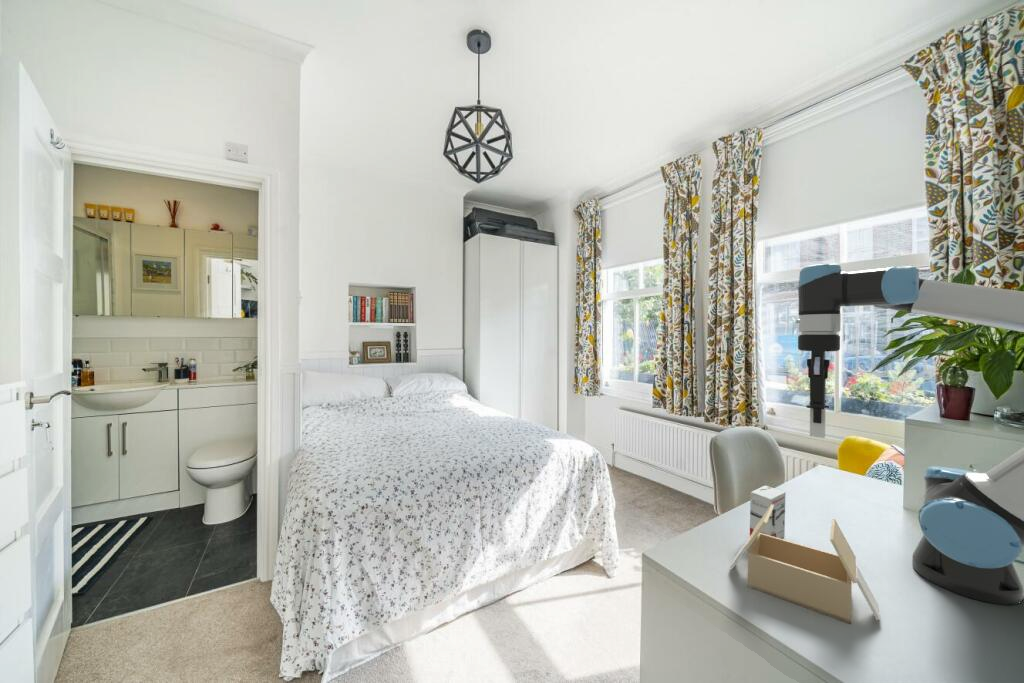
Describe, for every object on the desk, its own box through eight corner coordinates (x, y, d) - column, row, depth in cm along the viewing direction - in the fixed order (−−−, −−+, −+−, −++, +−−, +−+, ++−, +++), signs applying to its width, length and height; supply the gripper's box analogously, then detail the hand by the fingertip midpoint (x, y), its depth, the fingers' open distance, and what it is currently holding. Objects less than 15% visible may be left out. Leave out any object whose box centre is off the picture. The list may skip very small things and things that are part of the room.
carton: (850, 592, 78) (851, 558, 78) (851, 624, 70) (851, 585, 69) (757, 562, 88) (757, 532, 88) (747, 586, 80) (748, 552, 80)
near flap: (830, 540, 71) (833, 539, 71) (831, 519, 79) (834, 518, 79) (877, 628, 67) (881, 628, 67) (874, 597, 75) (877, 597, 75)
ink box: (770, 546, 95) (770, 498, 95) (748, 537, 99) (749, 491, 99) (785, 536, 100) (786, 490, 99) (764, 528, 104) (765, 484, 103)
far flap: (774, 505, 86) (771, 503, 86) (766, 523, 78) (763, 521, 78) (739, 553, 90) (737, 552, 91) (729, 575, 82) (726, 573, 83)
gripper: (800, 333, 96) (799, 428, 97) (795, 333, 86) (794, 439, 87) (840, 333, 91) (839, 433, 92) (839, 333, 81) (838, 445, 82)
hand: (817, 436), depth 89 cm, fingers closed
